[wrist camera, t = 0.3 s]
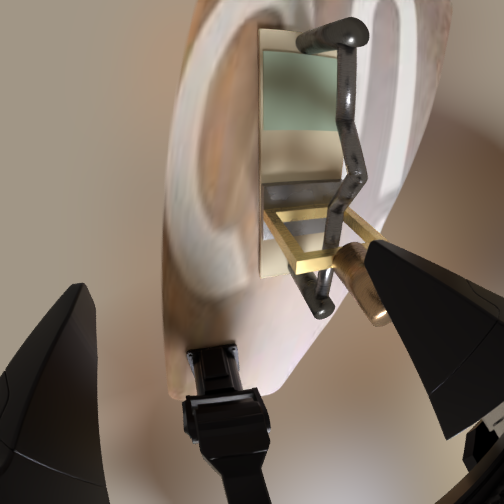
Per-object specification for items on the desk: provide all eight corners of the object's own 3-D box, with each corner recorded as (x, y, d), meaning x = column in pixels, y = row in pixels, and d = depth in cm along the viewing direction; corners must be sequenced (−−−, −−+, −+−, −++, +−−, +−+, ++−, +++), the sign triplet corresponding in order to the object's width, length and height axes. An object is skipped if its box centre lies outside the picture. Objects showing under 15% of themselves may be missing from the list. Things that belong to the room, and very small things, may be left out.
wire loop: (334, 226, 26) (419, 321, 15) (260, 235, 25) (322, 356, 14) (341, 178, 23) (448, 261, 13) (261, 183, 22) (342, 289, 11)
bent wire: (304, 271, 28) (340, 329, 22) (286, 274, 28) (319, 335, 21) (318, 35, 16) (385, 18, 9) (295, 31, 15) (355, 8, 8)
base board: (326, 264, 29) (328, 268, 29) (259, 275, 28) (261, 279, 27) (345, 41, 17) (349, 40, 16) (258, 29, 15) (260, 28, 15)
